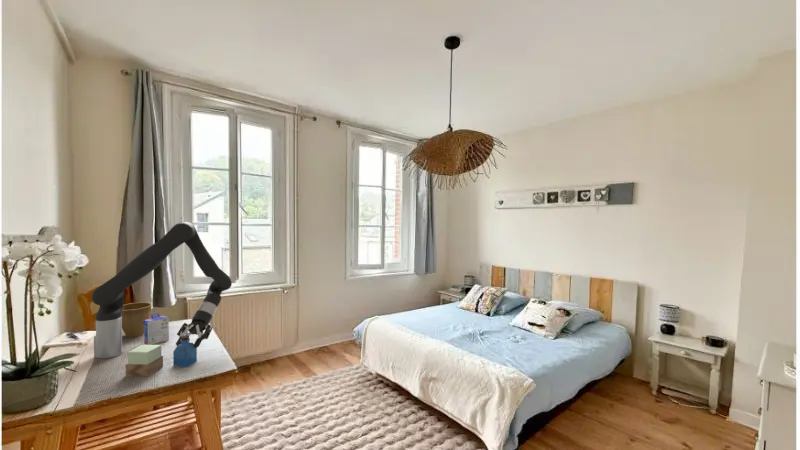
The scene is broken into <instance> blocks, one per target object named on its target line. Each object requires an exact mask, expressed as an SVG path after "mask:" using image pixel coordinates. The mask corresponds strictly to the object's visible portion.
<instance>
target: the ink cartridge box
mask: <svg viewBox="0 0 800 450" xmlns="http://www.w3.org/2000/svg"><path fill="white" fill-rule="evenodd" d="M150 316H151V317H150V318H149V319H147V320H143V323H144V334H143V345H156V344H160V343H162V342H167V341H170V332H169V331H170V330H169V329H170V327H169V322H170V321H169V320H170V319H169V316H166V315H160V312H156V313H150Z"/></svg>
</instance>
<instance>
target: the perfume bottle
mask: <svg viewBox="0 0 800 450" xmlns="http://www.w3.org/2000/svg"><path fill="white" fill-rule="evenodd" d="M190 341H191V340H190V336H189V335H185V336H182V337H181V344H179V345H176V347H175V348H174V350H173V356H172V357H173V361H172V362H173V366H175V367H182V368H183V367H184V368H187V367H189V366H190V365H192V364H194V363H196V362H197V361H198V352H197V351H198V349H197V348H198V347H197V348H195V347H193V345H194V343H193V342H190Z"/></svg>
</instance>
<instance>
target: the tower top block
mask: <svg viewBox="0 0 800 450" xmlns="http://www.w3.org/2000/svg"><path fill="white" fill-rule="evenodd" d="M161 356H162V344H152V345H146V344H141V345H139V346H138V347H136V348H134V349H131V350H129V351H128V352H127V364H144V365H148V364H149V363H151V362H153V361H155V360H156V359H158V358H160V357H161Z"/></svg>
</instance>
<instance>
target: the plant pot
mask: <svg viewBox="0 0 800 450" xmlns="http://www.w3.org/2000/svg"><path fill="white" fill-rule="evenodd" d="M151 310H152V303H151V302H131V303H127V304H124V307H123V311H122V332H123V333H124V334H125V336H126V338H135V337H140V336H144V323H143V320H147V319H150V316H151Z"/></svg>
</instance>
